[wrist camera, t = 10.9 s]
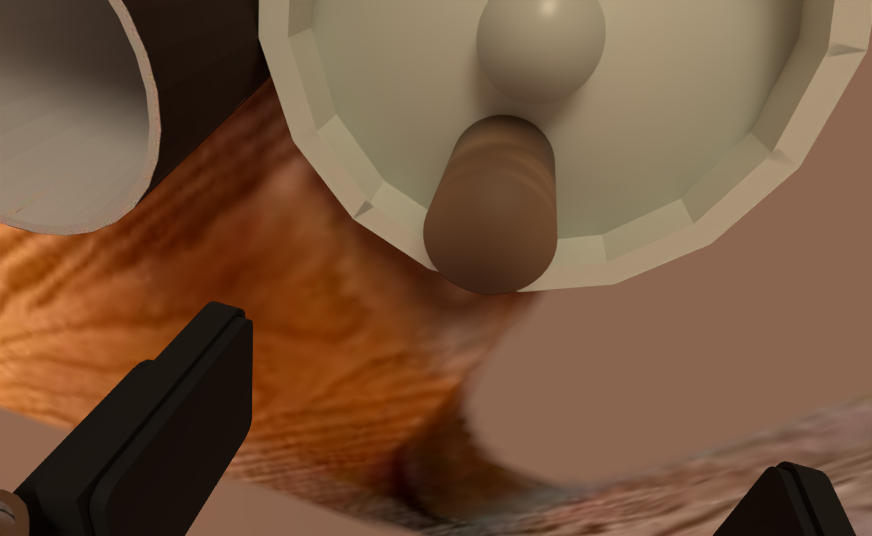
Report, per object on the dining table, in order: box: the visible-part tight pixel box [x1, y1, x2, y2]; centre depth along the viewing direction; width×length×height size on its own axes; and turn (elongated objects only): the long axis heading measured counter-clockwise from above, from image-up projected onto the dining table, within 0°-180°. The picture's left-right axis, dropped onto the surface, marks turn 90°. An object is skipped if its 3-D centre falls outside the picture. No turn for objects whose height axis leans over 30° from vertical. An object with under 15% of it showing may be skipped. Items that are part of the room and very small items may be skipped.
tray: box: [258, 0, 872, 292], centre depth 19 cm, size 18×18×3 cm
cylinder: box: [423, 115, 558, 295], centre depth 19 cm, size 4×4×6 cm
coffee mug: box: [0, 0, 271, 236], centre depth 17 cm, size 12×9×10 cm
